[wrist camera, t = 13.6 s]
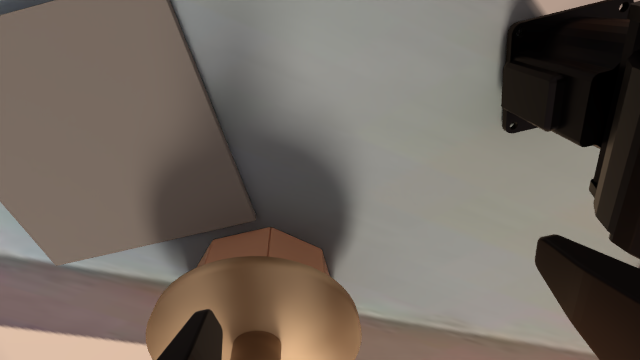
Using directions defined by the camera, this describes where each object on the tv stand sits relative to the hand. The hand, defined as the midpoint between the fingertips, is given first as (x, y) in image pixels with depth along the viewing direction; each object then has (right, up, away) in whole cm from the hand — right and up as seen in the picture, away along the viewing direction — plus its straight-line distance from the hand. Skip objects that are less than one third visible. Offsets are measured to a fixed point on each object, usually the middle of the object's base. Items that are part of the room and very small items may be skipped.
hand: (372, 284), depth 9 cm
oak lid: (-6, -8, +14) cm, 17 cm away
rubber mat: (-15, +5, +11) cm, 19 cm away
